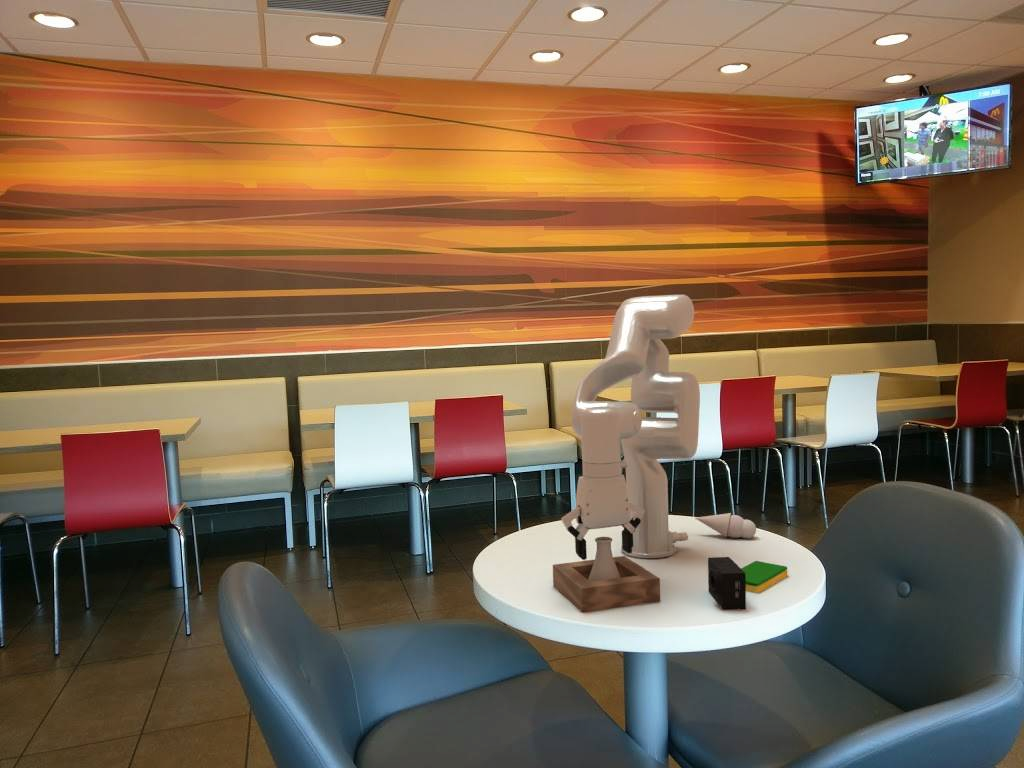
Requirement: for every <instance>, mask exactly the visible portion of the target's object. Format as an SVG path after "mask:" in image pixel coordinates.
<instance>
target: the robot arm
mask: <svg viewBox="0 0 1024 768" xmlns="http://www.w3.org/2000/svg"><path fill="white" fill-rule="evenodd" d="M694 318H695V307H694V304H693V300H692V299H691V298H690V297H689V296H688V295H687V294H665V295H664V294H663V295H662V294H661V295H643V296H636V297H635V296H634V297H631V298H628V299H625V300H624V301H622V303H621V304H620V306H619V308H618V309H617V311H616V313H615V315H614V319H613V324H612V329H611V332H610V336H609V337H610V338H609V340H608V341H609V342H608V345H607V351H606V355H605V358H603V359H602V360H601V361H600V362H599V363H597V364H596V365H595V366H594V367H592V368H591V370H589V372H588V373H587V374H585V376H584V377H583V378H582V380H581V381H580V383H579V385H578V387H577V388H576V389H577V390H576V393H575V397H574V400H573V405H572V411H571V417H570V418H571V420H570V422H571V427H572V430H573V431H574V433H575V434H576V436H577V435H578V436H579V437H581V438H580V439H581V457H582V476H579V477H578V480H577V488H576V495H575V508H573V509H572V510H571V511H569V512H568V513H565V515H564V516H562V517H561V518H560V519H561V523H562V524H563V525H564V527H565V530H567V532H569V533H570V534H571V535H572V536H573V537H574V542H575V543H574V546H575V549H574V550H575V554H576V555H577V557H578V558H580V559H581V561H587V557H588V555H587V552H588V551H587V541H586V539H585V538H584V537H585V536H586V535H587V533H588V532H589V530H597V529H605V528H612V527H613V528H614V527H620V526H622V528H623V530H622V531H621V546H620V547H621V549H620V551H621V553H623V554H624V555H626V556H629V557H632V558H641V559H659V558H661V559H662V558H666V557H667V558H668V557H670V556H672V555H674V554H675V553H676V552H677V548H676V545H675V544H676V543H677V542H684V541H685V542H686V541H688V539H689V535H688V533H687V532H685V531H684V532H679V533H678V532H677V531H670V530H669V528H670V527H669V494H668V493H669V492H668V491H669V490H668V489H669V487H668V483H669V481H668V477H667V472H666V470H665V469H664V467H663V466H662V465H661V463H660V462H659V461H658V460H678V461H679V460H684V461H685V460H689V459H693V458H694V456H695V455H696V452H697V450H698V445H699V426H700V402H701V391H700V385H699V382H698V379H697V377H696V376H695V375H694V374H693V373H690V372H688V371H687V372H686V371H670V370H669V367H670V352H669V350H668V347H667V346H666V345H665V344H664V342H663V341H662V340H670V339H676V338H679V337H680V336H682V335H683V334H684V333H686V332H687V331H689V329H691V327H692V325H693V322H694ZM627 380H631V382H630V383H631V385H630V402H629V401H608V400H607V401H604V400H603V401H599V400H596V399H597V397H599V395H601V393H603V392H604V391H606V390H607V389H609V388H611V387H613V386H615V385H617V384H619V383H622V382H625V381H627ZM643 412H644V413H657V414H658V413H662V414H663V413H665V414H668V413H669V414H677V417H659V416H655V417H654V416H651V417H650V416H643V415H642V413H643ZM621 446H622V451H623V456H624V457H623V458H624V461H623V460H622V459H621V456H622V455H621ZM623 469H625V475H624V474H623ZM573 520H575V522H576V523H577V526H576V527H574V525H573V524H572V521H573Z"/></svg>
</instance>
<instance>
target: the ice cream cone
mask: <svg viewBox="0 0 1024 768" xmlns="http://www.w3.org/2000/svg"><path fill="white" fill-rule="evenodd" d="M694 519H695V520H697V521H698V522H701V523H702V524H703V525H705V526H707V527H708V528H711V529H712V530H713V531H715V532H717V533H718V534H719V535H720V534H721V536H724V537H725V538H728V536H729V537H730V538H733V539H738V538H743V539H751V538H753V537H755V535H756V532H757V526H756V524H755V522H753V521H752V520H750V519H744V518H743V517H741V516H740V515H735V514H732V513H731V512H727V513H721V514H714V515H707V516H705V515H704V516H699V517H698V516H697V517H694Z"/></svg>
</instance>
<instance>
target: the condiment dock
mask: <svg viewBox="0 0 1024 768" xmlns="http://www.w3.org/2000/svg"><path fill="white" fill-rule="evenodd" d="M613 559H614V562H615V564H616V567H617V570H618V572H619V574H620V577H621V578H616V579H608V580H600V581H593V582H590V581H589V580H588V579H589V576H590V573H591V570H592V567H593V564H594V561H595V559H590V560H587V559H586V560H580V561H573V562H566V563H556V564H555V563H554V564H552V585H553V587H554V588H555V589H556V590H557V591H558V592H559V593H561V595H562V596H563V597H565V599H567V600H568V601H569V602H570V603H571V604H572V605H573V606H575V608H577V610H579V611H580V612H581V613H588V612H589V613H590V612H593V611H595V612H596V611H601V610H608V609H614V608H615V609H616V608H624V607H629V606H636V605H637V606H638V605H643V604H651V603H656V602H657V603H658V602H661V580H660V577H658V576H657V575H655V574H654V573H653V572H651V571H649V570H648V569H646V568H644V567H643V566H641V565H639V564H638V563H636V562H635V561H634V560H632V559H630V558H628V557H627V556H625V555H620V556H613Z"/></svg>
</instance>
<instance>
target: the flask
mask: <svg viewBox="0 0 1024 768" xmlns="http://www.w3.org/2000/svg"><path fill="white" fill-rule="evenodd" d="M594 541H595V542H596V551H595V552H596V553H595V558H594V560H595V561H594V564H593V567H592V570H591V573H590V576H589V579H588V580H589V581H590V582H593V581H600V580H608V579H616V578H621V577H620V574H619V572H618V570H617V567H616V564H615V562H614V559H613V557H614V555H613V552H612V544H611V543H612V541H613V538H611V537H609V536H598V537H596V538H594Z"/></svg>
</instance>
